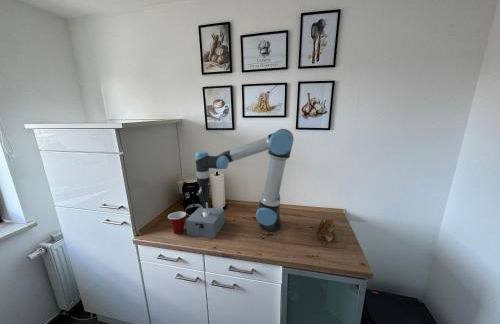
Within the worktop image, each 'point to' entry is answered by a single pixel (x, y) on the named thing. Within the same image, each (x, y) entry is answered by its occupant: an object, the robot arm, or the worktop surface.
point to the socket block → (205, 223)
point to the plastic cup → (177, 221)
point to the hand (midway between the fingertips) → (205, 212)
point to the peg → (206, 214)
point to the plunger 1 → (198, 227)
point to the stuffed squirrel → (326, 231)
